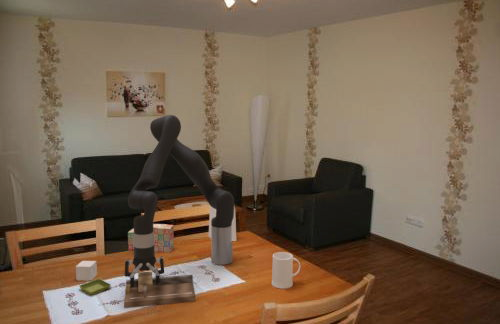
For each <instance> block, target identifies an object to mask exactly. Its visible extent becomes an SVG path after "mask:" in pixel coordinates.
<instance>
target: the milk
mask: <svg viewBox="0 0 500 324" xmlns="http://www.w3.org/2000/svg"><path fill="white" fill-rule="evenodd" d="M214 217H216V209H214V208H213V207H211V206H210V205H209V218H208V219H209V220H208V221H209V223H208V224H209V225H208V238H209V237H210V238H211V220H212V219H213V218H214ZM236 222H237V220H236V207H235V206H234V217H233V220H232V241H236V242H237V226H236V225H237V223H236ZM210 238H209V239H210Z"/></svg>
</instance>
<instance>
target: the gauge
mask: <svg viewBox="0 0 500 324" xmlns="http://www.w3.org/2000/svg"><path fill="white" fill-rule="evenodd" d="M152 278H153V271H152V270H151V271H150V270H149V271H140V272H138V275H137V279H138V289H139V292H143V293H144V297H146V292H147V291H152V290H153V280H152Z"/></svg>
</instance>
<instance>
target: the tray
mask: <svg viewBox="0 0 500 324" xmlns="http://www.w3.org/2000/svg"><path fill="white" fill-rule="evenodd" d="M152 280H153V290H152V291H147V292H146V297H144V293H143V292H139V289H138V278H134V283H135V285H134V287H132V286H131V285H130V279H126V282H125V283H126V284H125V290H124V292H125V294H124V299H123V308H124V309H125V308H127V309H128V308H137V307H145V306H157V305H165V304H166V305H167V304H176V303H177V304H178V303H186V302H187V303H188V302H189V303H190V302H196V293H195V287H194V281H193V280H194V277H193V274H183V275H171V276H170V275H169V276H160V282H159V283H158V285H156V277H152Z"/></svg>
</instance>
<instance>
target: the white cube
mask: <svg viewBox="0 0 500 324" xmlns="http://www.w3.org/2000/svg"><path fill="white" fill-rule="evenodd" d="M97 266H98V265H97V260H81V261H80V262H79V263H77V265H75V277H76V278H75V279H76V281H88V282H91V281H93V280H94V278H95V277H96V276H98V267H97Z"/></svg>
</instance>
